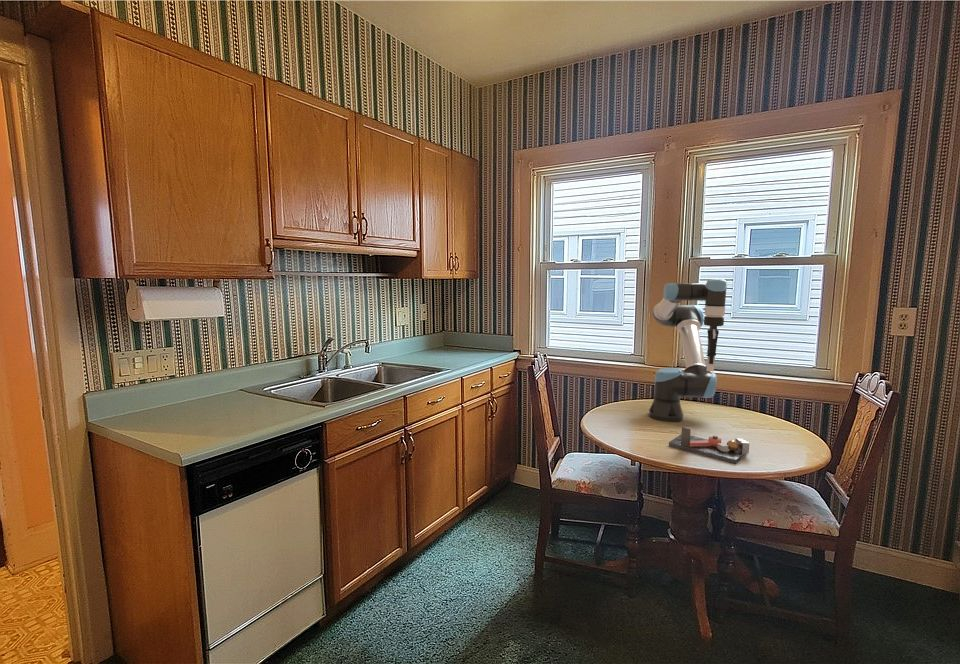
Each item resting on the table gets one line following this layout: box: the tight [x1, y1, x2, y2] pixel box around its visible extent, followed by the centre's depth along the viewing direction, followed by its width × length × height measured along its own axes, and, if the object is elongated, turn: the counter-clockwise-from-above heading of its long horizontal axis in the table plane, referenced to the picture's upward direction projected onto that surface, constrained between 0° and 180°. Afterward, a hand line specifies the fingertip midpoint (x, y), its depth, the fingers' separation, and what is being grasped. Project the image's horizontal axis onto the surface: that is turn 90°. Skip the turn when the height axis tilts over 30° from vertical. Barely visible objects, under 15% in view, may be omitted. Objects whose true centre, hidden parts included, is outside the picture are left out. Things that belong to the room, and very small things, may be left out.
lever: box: [680, 426, 728, 451], centre depth 172 cm, size 16×9×7 cm, turn 95°
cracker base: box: [668, 434, 750, 465], centre depth 174 cm, size 26×14×6 cm, turn 45°
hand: (710, 370), depth 193 cm, fingers closed
